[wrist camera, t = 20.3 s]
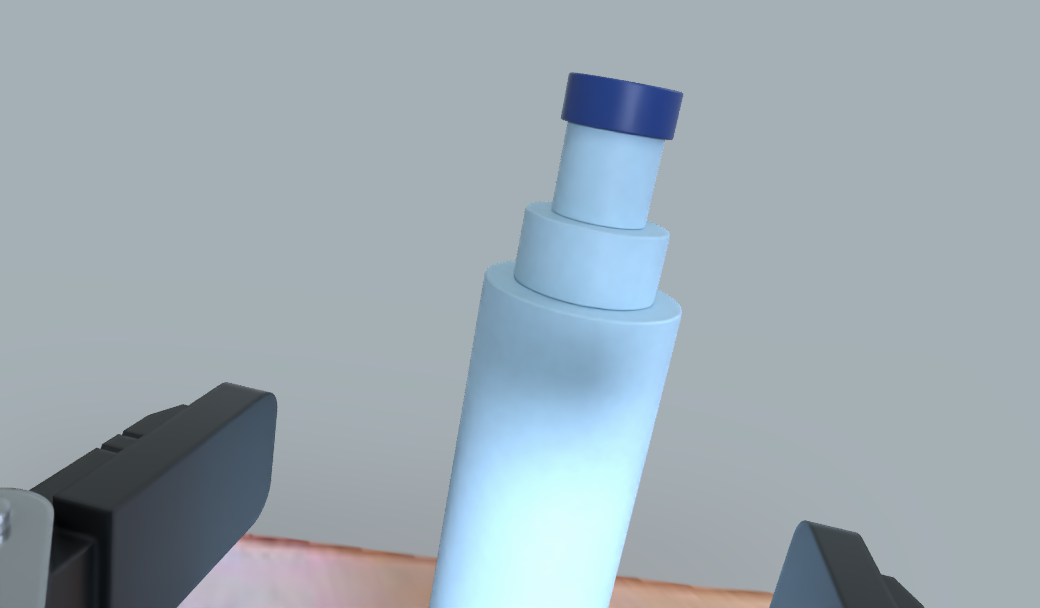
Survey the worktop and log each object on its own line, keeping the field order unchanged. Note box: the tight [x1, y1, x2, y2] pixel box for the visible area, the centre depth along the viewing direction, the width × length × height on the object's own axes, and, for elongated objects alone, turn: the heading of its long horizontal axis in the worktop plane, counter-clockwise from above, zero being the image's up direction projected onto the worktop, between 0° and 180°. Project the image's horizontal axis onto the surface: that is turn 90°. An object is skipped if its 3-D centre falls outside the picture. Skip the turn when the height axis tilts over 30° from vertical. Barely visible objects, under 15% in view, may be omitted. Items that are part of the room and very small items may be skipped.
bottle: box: [429, 73, 683, 608], centre depth 22 cm, size 6×6×20 cm
